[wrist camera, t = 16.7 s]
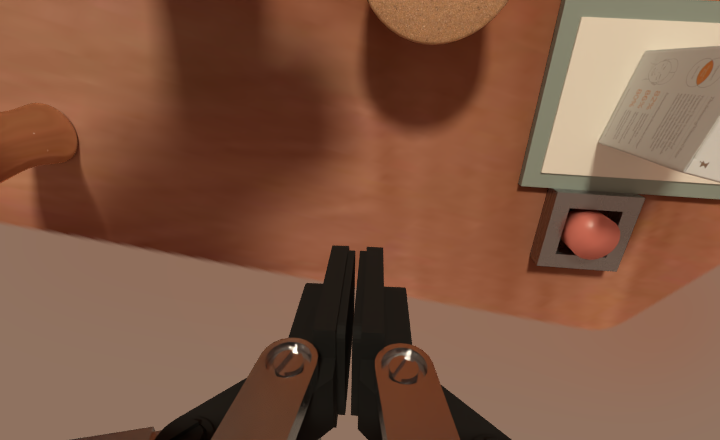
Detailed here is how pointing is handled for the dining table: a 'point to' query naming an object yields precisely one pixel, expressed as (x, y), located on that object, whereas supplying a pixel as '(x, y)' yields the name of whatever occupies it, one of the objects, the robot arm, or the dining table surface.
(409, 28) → the lidded jar
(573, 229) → the red rounded knob
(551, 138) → the board
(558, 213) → the button housing
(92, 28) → the dining table surface
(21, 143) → the beer glass
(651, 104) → the small box
